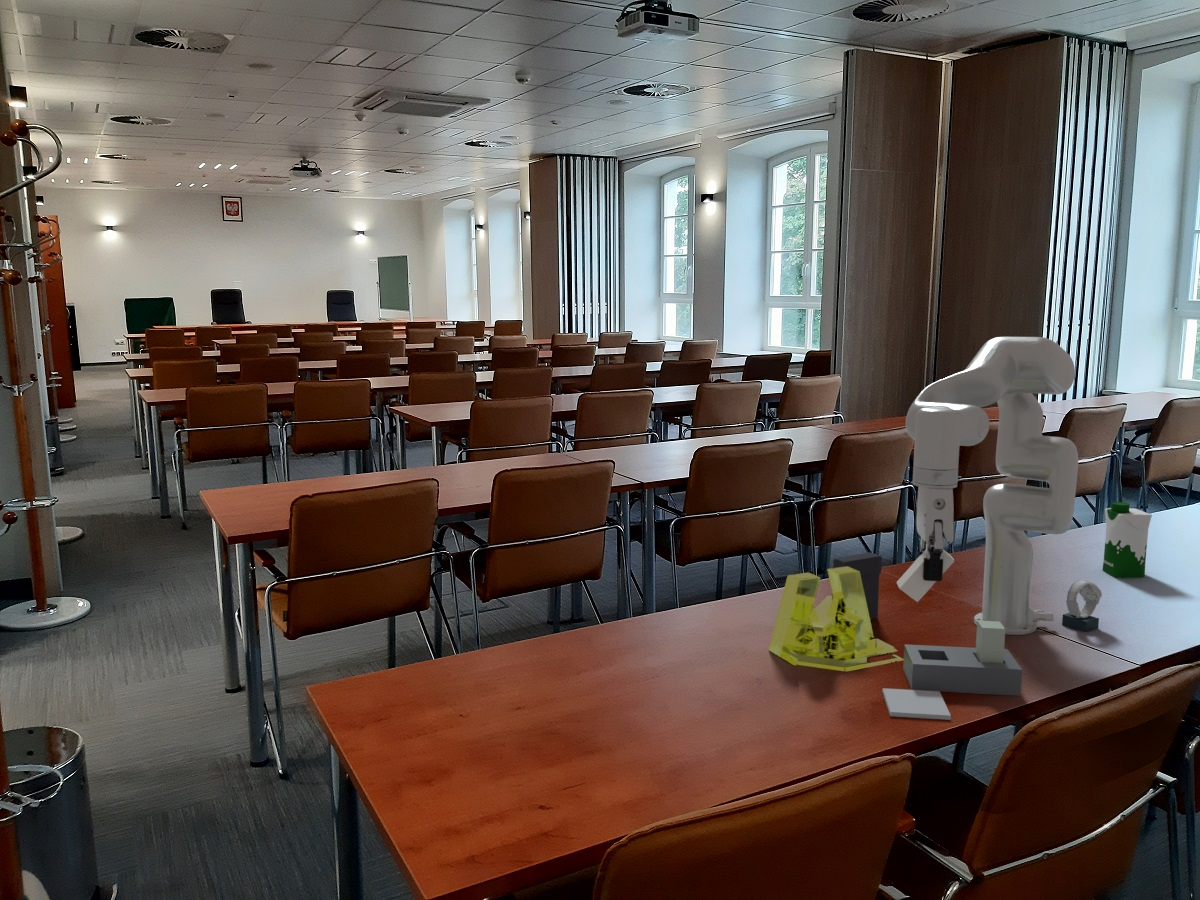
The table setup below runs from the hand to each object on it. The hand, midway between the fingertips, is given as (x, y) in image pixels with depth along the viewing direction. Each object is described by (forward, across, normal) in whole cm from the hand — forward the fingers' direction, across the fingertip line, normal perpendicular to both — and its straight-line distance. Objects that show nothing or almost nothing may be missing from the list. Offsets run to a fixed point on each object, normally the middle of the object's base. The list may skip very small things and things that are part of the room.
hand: (930, 575), depth 165 cm
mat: (+22, -7, +3) cm, 23 cm away
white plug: (+3, 0, +4) cm, 5 cm away
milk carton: (+21, +79, -62) cm, 102 cm away
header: (+22, +6, -7) cm, 24 cm away
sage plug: (+20, +6, -12) cm, 24 cm away
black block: (+22, +37, +9) cm, 44 cm away
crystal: (+22, +18, +14) cm, 32 cm away
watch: (+21, +38, -39) cm, 58 cm away
